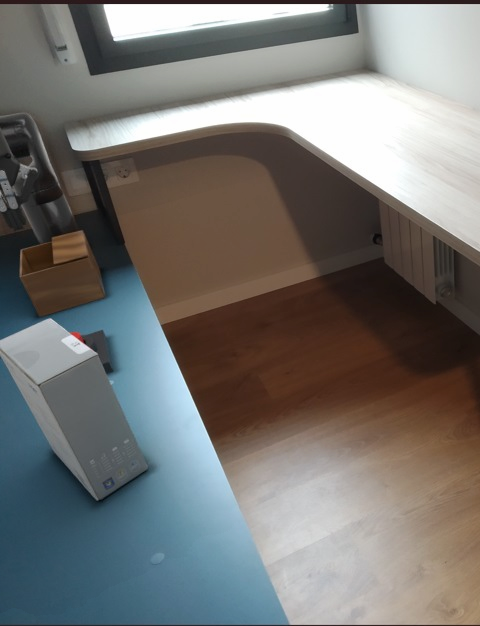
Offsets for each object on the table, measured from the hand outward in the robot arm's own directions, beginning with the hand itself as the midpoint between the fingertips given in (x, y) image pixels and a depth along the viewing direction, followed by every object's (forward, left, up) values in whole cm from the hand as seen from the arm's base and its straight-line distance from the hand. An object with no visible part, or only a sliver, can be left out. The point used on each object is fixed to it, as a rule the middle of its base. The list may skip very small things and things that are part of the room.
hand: (19, 228), depth 107 cm
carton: (-18, +1, -22) cm, 29 cm away
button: (+13, +1, -19) cm, 23 cm away
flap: (-18, +4, -12) cm, 23 cm away
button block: (+13, +1, -22) cm, 26 cm away
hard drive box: (+41, +2, -23) cm, 46 cm away
